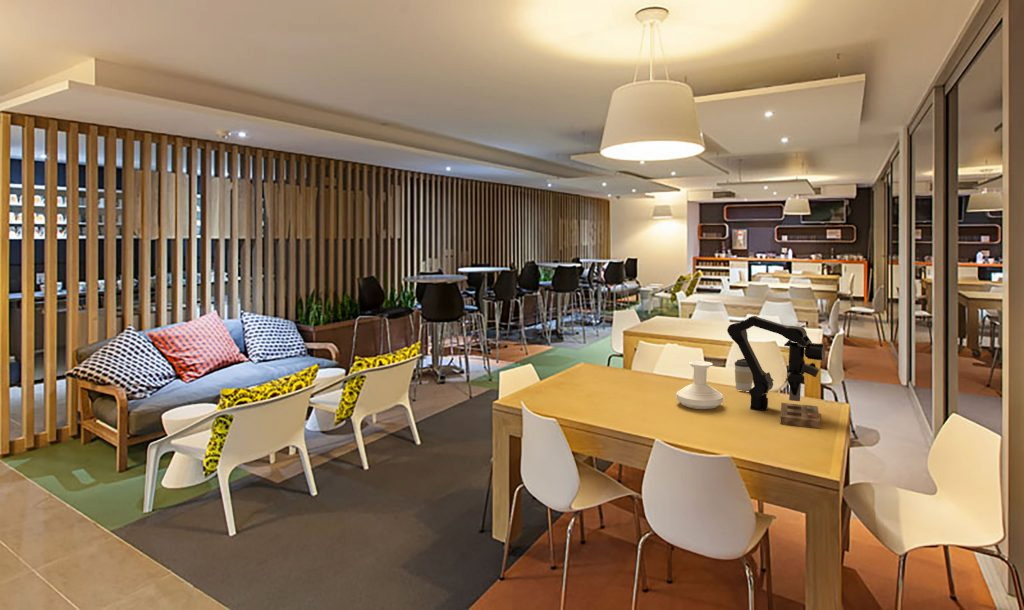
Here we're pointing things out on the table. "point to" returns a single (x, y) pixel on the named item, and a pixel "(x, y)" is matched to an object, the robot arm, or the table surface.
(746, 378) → the coffee cup
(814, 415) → the socket board
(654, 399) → the table surface
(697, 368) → the candle holder
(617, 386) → the table surface
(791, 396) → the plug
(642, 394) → the table surface
